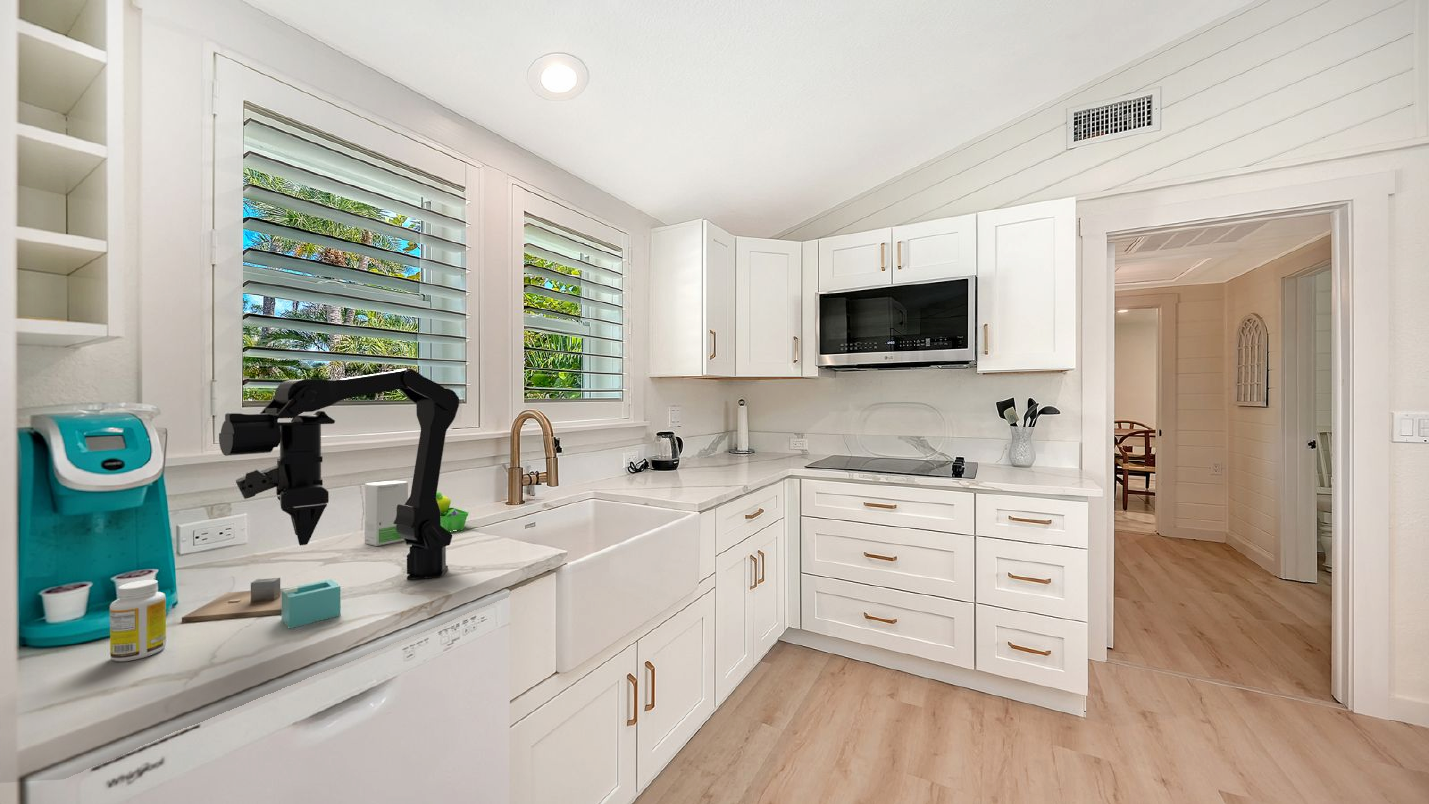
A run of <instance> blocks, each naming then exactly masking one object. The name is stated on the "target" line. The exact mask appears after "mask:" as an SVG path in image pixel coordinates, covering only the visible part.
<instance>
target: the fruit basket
mask: <svg viewBox="0 0 1429 804" xmlns="http://www.w3.org/2000/svg"><path fill="white" fill-rule="evenodd" d="M436 500H437V503H438V506H439V509H440V512H441V526H442V527H443V528H444V529H446V530H447V531H448V532H450V531H453V530H462V531H464V528H465V524H466V523H467V517H468V516H469V511H466V510H462V509H459V508H456V507H450V505H451V502H452V501H451V499H450V498H449V497H447V496H445V495H444V494H442V493H441V492H440V491H437V494H436ZM450 533H451V532H450Z"/></svg>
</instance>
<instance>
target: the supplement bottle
mask: <svg viewBox="0 0 1429 804" xmlns="http://www.w3.org/2000/svg"><path fill="white" fill-rule="evenodd" d="M158 583H159V581H158V580H156V579H143V580H138V581H137V580H136V581H132V582H127V583H125V584H124V583H123V584H122V585H120V586H118V587H117V599H115V600H114V601H112V602H111V603H110V604H109V635H110V636H109V638H110V639H109V644H110V645H109V648H110V650H109V651H110V652H109V653H110V658H111V660H112V661H114V662H129V661H134V660H140V659H143V658H144V659H145V658H147V657H150V656H152V655H155V654H157V653H159V652H161V651H162V650H163V649H164V648H165V647H166V646H167V607H166V606H167V605H166V604H167V602H166V601H167V600H166V599H167V597H166V594H165V593H164V592H161V591H159V584H158Z"/></svg>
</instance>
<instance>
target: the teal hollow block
mask: <svg viewBox="0 0 1429 804" xmlns="http://www.w3.org/2000/svg"><path fill="white" fill-rule="evenodd" d="M286 588H287V589H283V590H281V594H282V614H281V621H282V622H283V623H284V624H285V625H286V627H287V628H288V627H289V628H290V629H293V628H292V627H294V628H296V627H300V626H301V627H302V626H304V625H309V624H312V623H311V622H313V623H316V622H315V621H317V622H319V621H318V620H321V621H323V620H322V619H325V620H328V618H329V619H332V617H333V618H336V617H340V616H341V606H342V605H341V586H340V585H339V584H338V583H336V581H334V580H333V579H327V580H321V581H317V582H312V583H307V584H303V585H298V586H293V587H286ZM339 615H340V616H339ZM335 616H336V617H335ZM289 628H288V629H289Z"/></svg>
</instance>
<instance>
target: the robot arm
mask: <svg viewBox="0 0 1429 804" xmlns="http://www.w3.org/2000/svg"><path fill="white" fill-rule="evenodd" d="M396 390H399V391H400V392H401V393H402V394H403V395H404V396H405V398H407V399H408V400H409V401H411V402H412V403H413V404H415V406H416V418H417V421H418V423H419V427H420V432H419V438H418V439H419V441H418V444H417V445H418V446H417V451H416V456H415V457H416V458H415V464H414V471H413V472H414V473H413V478H412V482H411V489H410V496H408V500H407V502H406V503H405V505H401V504H398V505H397V515H396V519H395V521H394V523H393V524H396V530H397V533H398V534H399V535H400V536H401V537H403V538H404V540H405V541H404V542H405V545H406V546H409V553H408V554H406V575H407V576H406V579H407V580H416V579H417V580H418V579H428V578H429V579H431V578H440V577H442V576H443V575H444V574H445V573H446V571H447V570H448V569H449V566H448V565H446V564H447V563H446V562H447V561H446V560H447V553H446V552H447V549H446V548H447V546H450V545H451V542H452V540H453V534H452V532H450V533H449V532H448V531H447V530H446V529H444V528H443V527H442V526H441V512H440V509H439V506H438V503H437V500H436V494H437V492H438V487H439V479H440V474H441V467H442V461H443V455H444V449H445V447H444V446H445V443H446V442H445V440H446V435H447V434H446V433H447V431H448V430H449V427H450V426H451V425H452V423H453V422H454V420H455V418H456V415H457V413H458V410H459V406H460V396H458V395H457V394H456V392H455V391H454V390H453V389H450V388H445V387H443V386H442V385H441V384H439V383H438V382H435V381H433V380H432V379H429V378H427V377H425V376H424V375H422V374H421V373H419V372H418V371H416V370H415V369H413V368H400V369H399V368H398V369H395V370H393V371H386V372H379V373H374V374H367V375H359V376H352V377H345V378H340V379H339V378H338V379H333V378H330V379H327V378H318V379H317V378H313V379H312V378H303V379H288V380H285V381H282V382H280V383H279V385H278V386H277V387H276V389H275V391H274V397H273V399H271V401H270V402H269V403H268V404H267V405H266V406H265V407H264V408H263V410H262V411H261V412H260V413H247V414H246V413H239V412H238V413H236V412H230V413H229V412H228V413H225V414H224V421H223V422H222V425H221V429H220V432H219V433H218V441H219V448H220V451H221V453H222V455H224V456H225V457H227V456H242V455H257V454H270V453H272V452H273V450H274V449H275V448H278V447H279V456H278V458H276V459H277V460H276V465H274V466H272V467H271V466H270V467H268V468H265V469H262V470H259V469H254V470H252V471H250V472H246V473H245V475H244V476H241V477H239V478H237V479H236V480H235V483H236V485H237V487H238V489H239V491H240V493H241V496H242V497H243V498H244V499H245V500H247V499H249V498H254V497H255V496H257V494H261V493H263V492H265V491H269V490H271V489H274V488H275V494H276V498H277V500H278V501H279V503H280V504H279V506H280V509H281V511H283V512H284V513H286V514H288V515H289V516H290V519H291V523H292V527H293V530H294V534H295V536H297V541H298V544H299V546H306V545H308V544H309V542H310V540H311V538H312V536H313V534H314V531H315V529H316V528H317V525H318V524H319V521H320V519H321V517H322V515H323V514H324V511H325V509H326V508H327V505H328V503H329V498H330V497H329V490H327V489H326V488H325V487H324V486H323V483H324V481H323V479H322V463H323V455H322V430H321V429H322V425H334V424H335V423H336V419H333V418H332V417H330V416H329V415H328V414H327V413H326V411H323V410H322V409H325V408H328V407H330V406H333V405H336V404H337V403H339V402H342V401H344V400H346V399H347V400H348V399H351V398H358V397H363V396H370V395H374V394H375V395H376V394H380V393H386V392H390V391H396ZM312 412H314V414H311V415H307V414H306V415H303V414H304V413H312ZM279 419H291V420H290V421H278V420H279Z"/></svg>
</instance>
